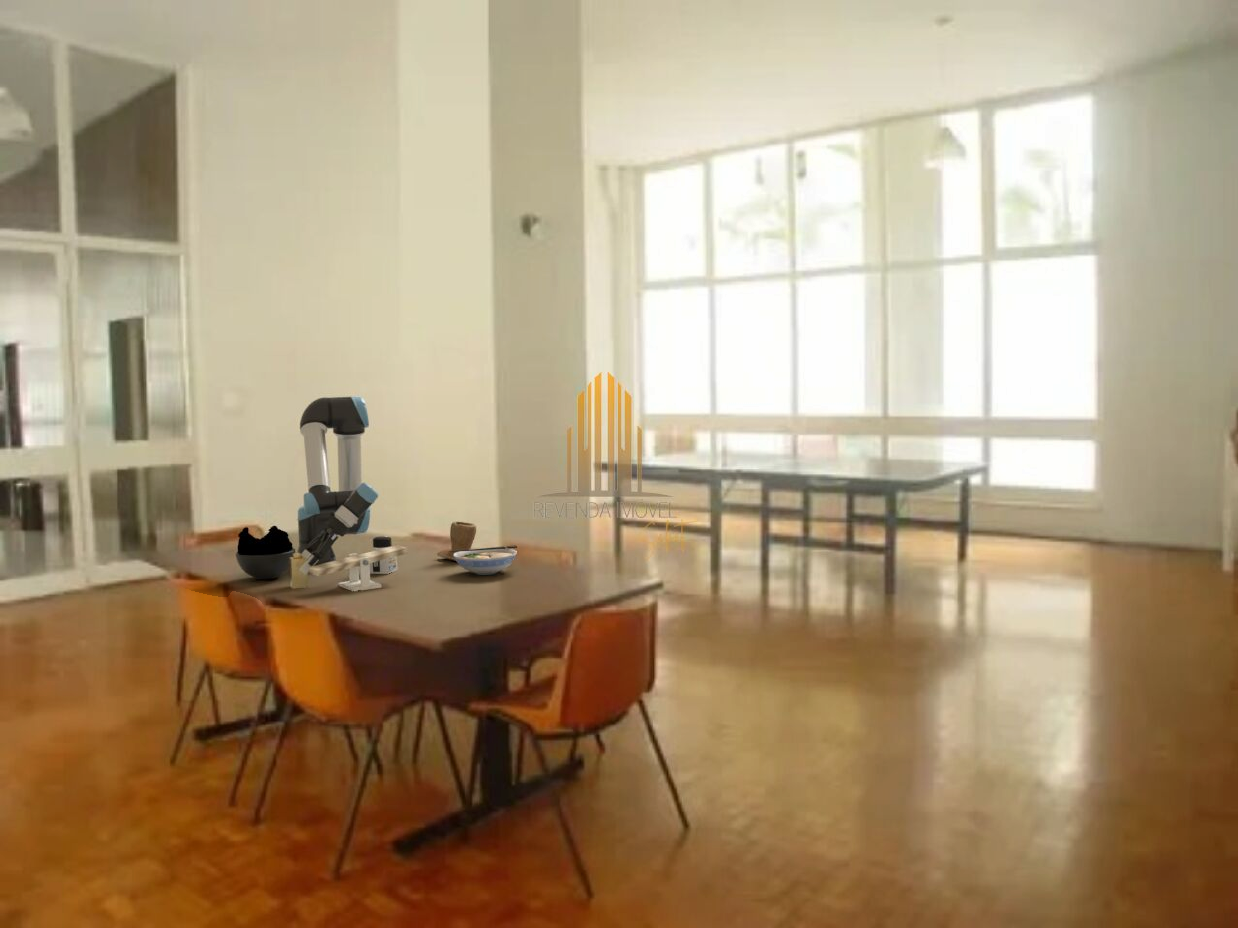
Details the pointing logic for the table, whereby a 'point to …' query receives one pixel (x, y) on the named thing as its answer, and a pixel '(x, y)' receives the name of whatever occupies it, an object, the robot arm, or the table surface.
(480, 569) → the ramen bowl
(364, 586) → the beam stand
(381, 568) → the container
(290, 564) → the brass weight
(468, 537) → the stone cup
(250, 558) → the coal bowl
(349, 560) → the balance beam
